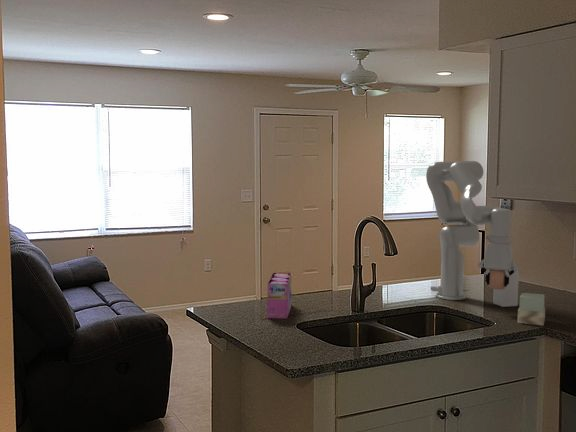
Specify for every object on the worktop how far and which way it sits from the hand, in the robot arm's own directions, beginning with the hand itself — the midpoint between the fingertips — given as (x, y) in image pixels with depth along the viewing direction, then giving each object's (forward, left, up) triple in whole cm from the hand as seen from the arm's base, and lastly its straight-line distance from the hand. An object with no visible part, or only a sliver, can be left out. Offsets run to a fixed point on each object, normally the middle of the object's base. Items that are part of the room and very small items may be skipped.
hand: (496, 284), depth 259 cm
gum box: (-78, -35, -11) cm, 86 cm away
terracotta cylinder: (0, 0, -1) cm, 1 cm away
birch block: (+14, -9, -11) cm, 20 cm away
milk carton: (+2, +15, -11) cm, 19 cm away
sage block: (+14, -9, -6) cm, 18 cm away
